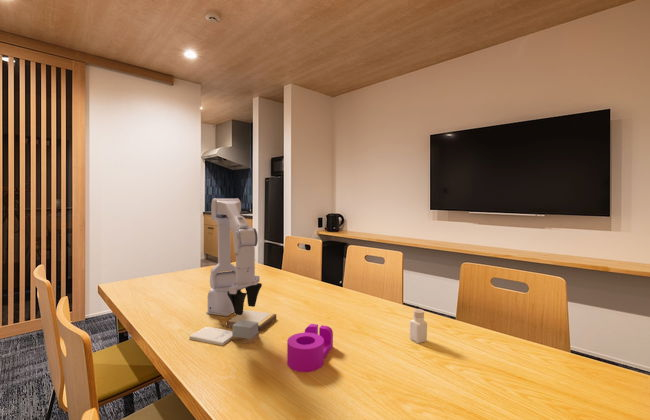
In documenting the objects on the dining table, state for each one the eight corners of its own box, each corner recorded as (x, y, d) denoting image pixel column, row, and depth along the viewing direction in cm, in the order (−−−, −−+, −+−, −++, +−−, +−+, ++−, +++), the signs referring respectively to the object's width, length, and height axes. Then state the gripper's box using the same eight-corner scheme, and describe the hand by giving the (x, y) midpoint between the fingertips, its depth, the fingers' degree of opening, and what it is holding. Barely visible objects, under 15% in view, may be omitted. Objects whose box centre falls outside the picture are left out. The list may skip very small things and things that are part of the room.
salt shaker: (417, 344, 98) (418, 314, 98) (408, 339, 102) (409, 309, 101) (427, 341, 100) (428, 311, 100) (418, 336, 104) (419, 307, 103)
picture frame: (226, 326, 110) (226, 321, 110) (245, 314, 121) (245, 309, 121) (260, 331, 106) (260, 325, 106) (276, 318, 118) (276, 313, 117)
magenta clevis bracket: (315, 376, 81) (316, 351, 81) (280, 368, 84) (280, 345, 84) (335, 347, 96) (335, 327, 96) (304, 342, 99) (305, 322, 99)
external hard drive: (206, 330, 108) (238, 336, 104) (189, 341, 100) (222, 347, 96) (206, 325, 108) (238, 331, 104) (189, 335, 100) (222, 342, 96)
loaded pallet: (231, 340, 100) (231, 325, 100) (239, 334, 104) (239, 319, 104) (251, 344, 98) (251, 328, 97) (259, 337, 102) (259, 322, 102)
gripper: (244, 273, 92) (244, 320, 92) (267, 263, 106) (267, 304, 106) (223, 271, 94) (223, 317, 94) (248, 262, 108) (248, 301, 108)
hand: (245, 310), depth 100 cm, fingers open, 7 cm apart
